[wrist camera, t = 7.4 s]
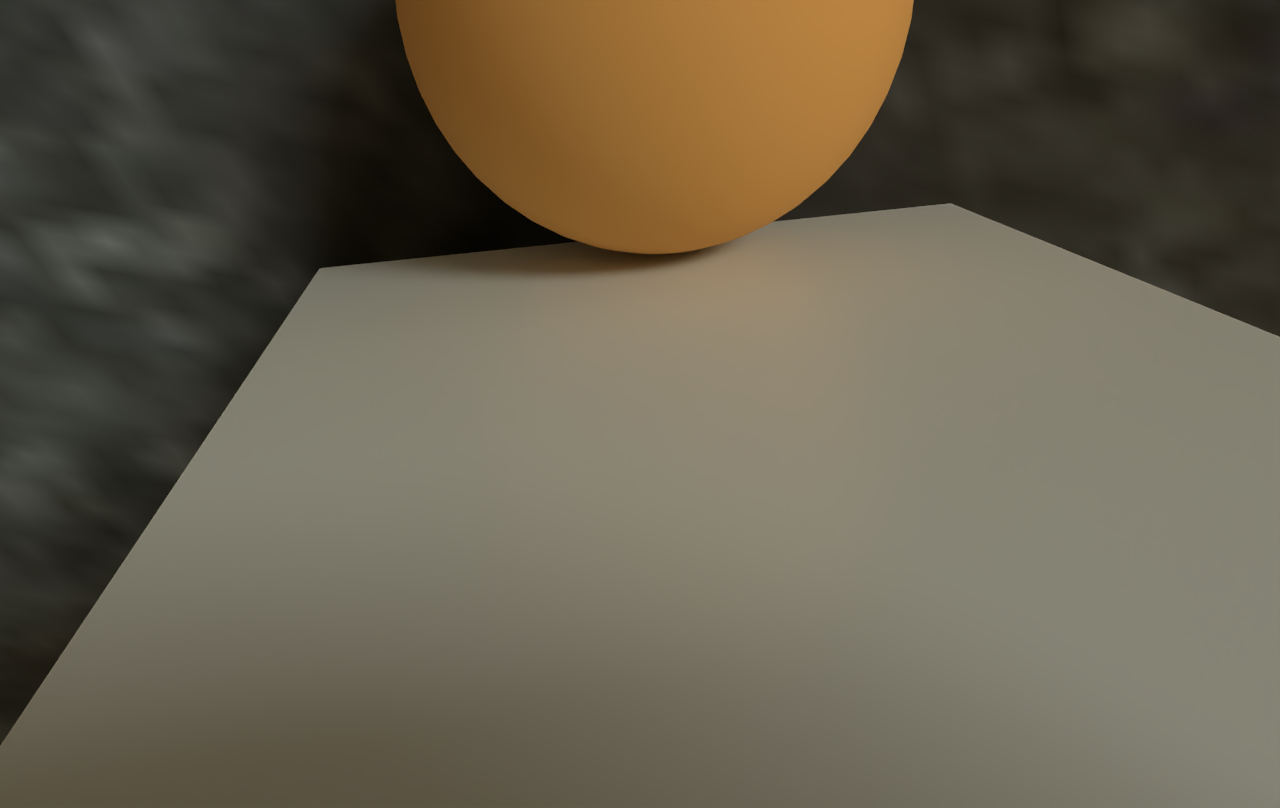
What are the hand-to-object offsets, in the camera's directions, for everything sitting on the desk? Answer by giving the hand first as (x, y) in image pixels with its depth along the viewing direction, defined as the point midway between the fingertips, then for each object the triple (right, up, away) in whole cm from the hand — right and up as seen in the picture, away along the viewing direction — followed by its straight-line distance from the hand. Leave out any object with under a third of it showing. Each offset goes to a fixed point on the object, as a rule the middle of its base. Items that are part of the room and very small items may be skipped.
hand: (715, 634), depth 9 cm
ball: (-1, +7, -1) cm, 7 cm away
